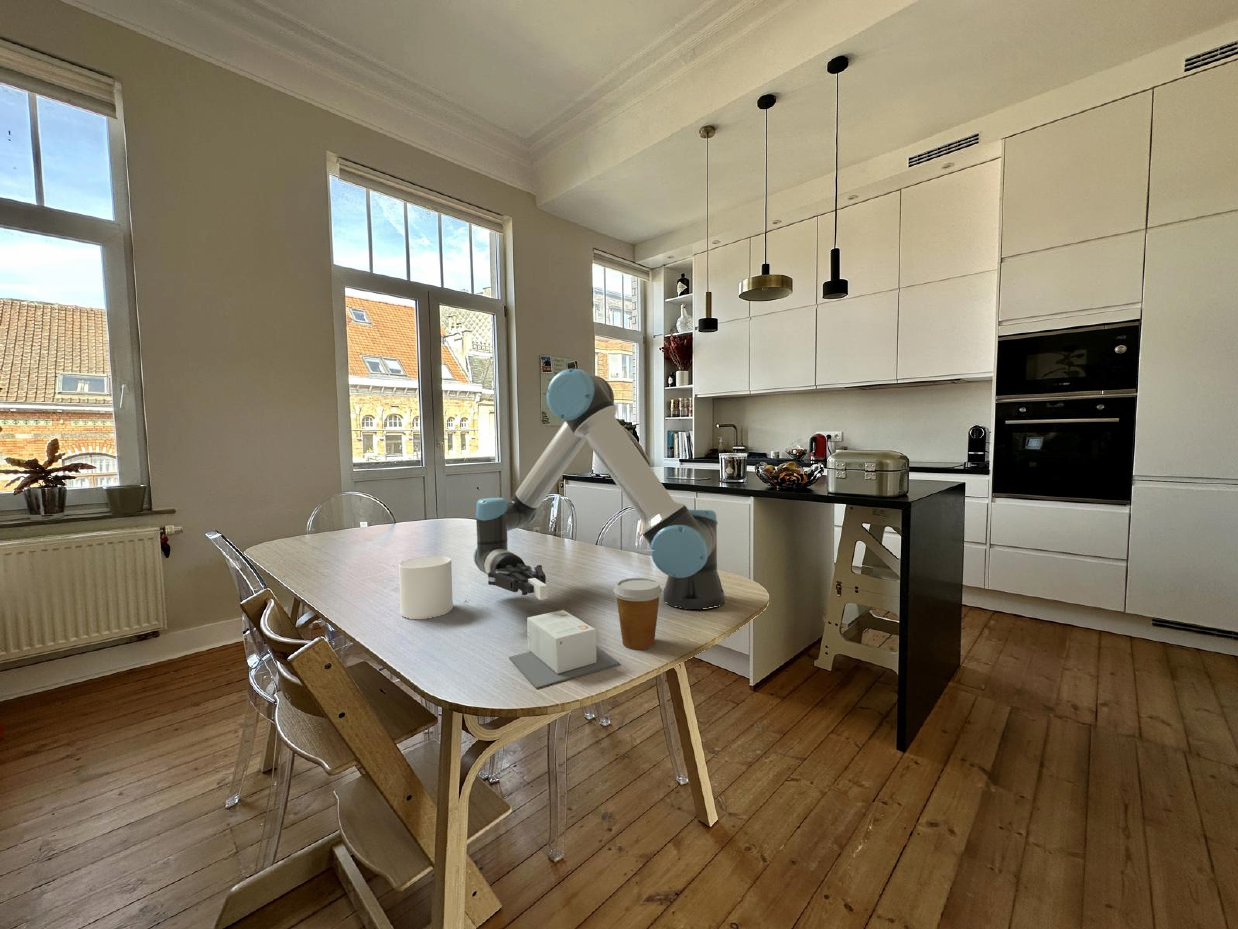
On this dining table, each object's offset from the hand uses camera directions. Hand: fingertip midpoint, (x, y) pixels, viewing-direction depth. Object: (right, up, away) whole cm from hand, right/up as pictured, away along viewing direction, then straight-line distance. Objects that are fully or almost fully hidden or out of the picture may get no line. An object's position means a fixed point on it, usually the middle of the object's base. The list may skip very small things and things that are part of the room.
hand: (543, 592), depth 96 cm
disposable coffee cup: (+19, -10, +1) cm, 22 cm away
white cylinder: (-32, -10, +22) cm, 40 cm away
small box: (0, -7, 0) cm, 7 cm away
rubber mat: (+5, -11, -7) cm, 14 cm away
